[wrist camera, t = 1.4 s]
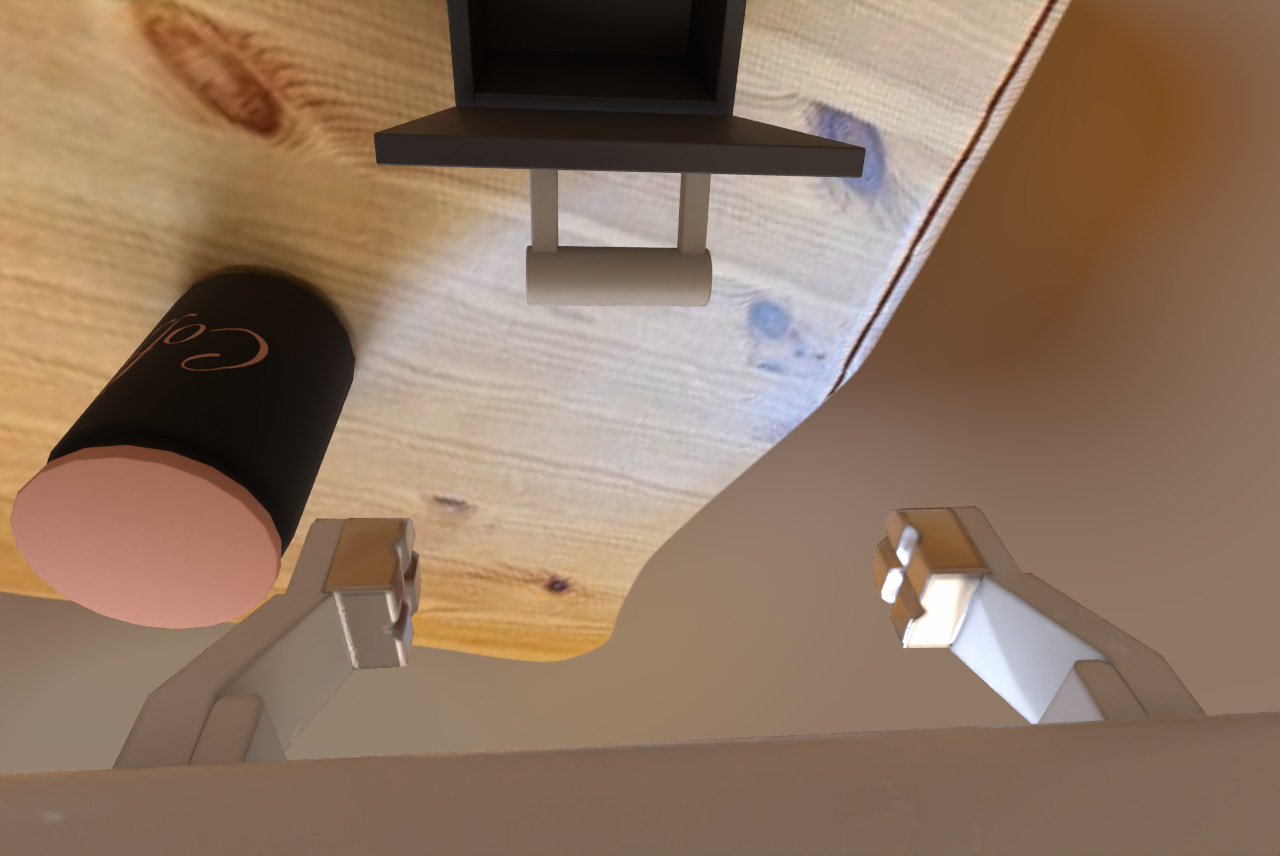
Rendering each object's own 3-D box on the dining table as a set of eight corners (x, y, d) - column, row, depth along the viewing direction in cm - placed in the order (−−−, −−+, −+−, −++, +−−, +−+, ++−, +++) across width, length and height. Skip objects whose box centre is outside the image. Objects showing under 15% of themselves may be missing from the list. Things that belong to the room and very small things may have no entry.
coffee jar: (314, 245, 45) (200, 433, 30) (385, 393, 51) (319, 605, 37) (139, 284, 45) (-54, 487, 31) (231, 426, 52) (107, 648, 37)
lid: (372, 133, 17) (392, 324, 19) (866, 147, 19) (840, 326, 21) (454, 106, 31) (461, 219, 33) (734, 115, 33) (725, 224, 34)
